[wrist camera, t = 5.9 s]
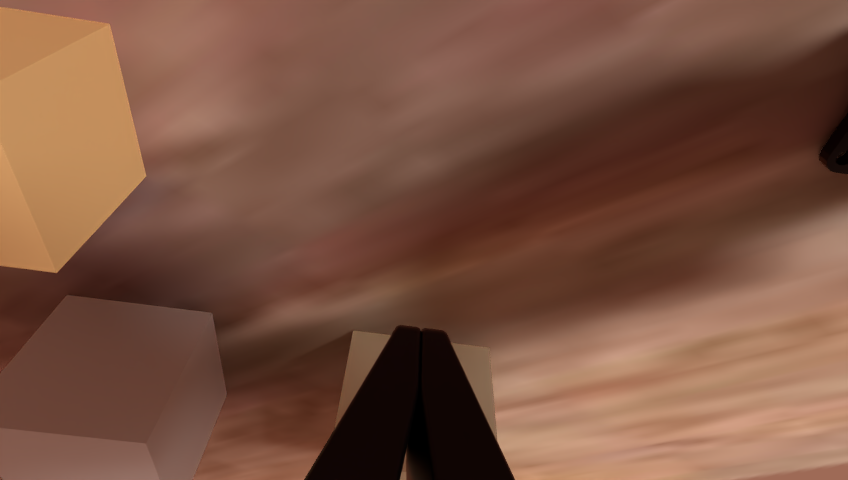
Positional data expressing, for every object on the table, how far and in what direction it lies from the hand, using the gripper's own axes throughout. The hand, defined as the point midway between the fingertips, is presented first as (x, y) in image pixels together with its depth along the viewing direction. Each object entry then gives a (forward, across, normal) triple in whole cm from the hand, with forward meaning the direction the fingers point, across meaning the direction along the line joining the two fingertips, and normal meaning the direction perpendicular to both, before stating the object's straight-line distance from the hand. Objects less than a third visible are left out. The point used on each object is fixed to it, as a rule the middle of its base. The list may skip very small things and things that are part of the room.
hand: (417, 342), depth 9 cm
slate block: (+9, +11, +13) cm, 19 cm away
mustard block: (+9, +12, +1) cm, 15 cm away
